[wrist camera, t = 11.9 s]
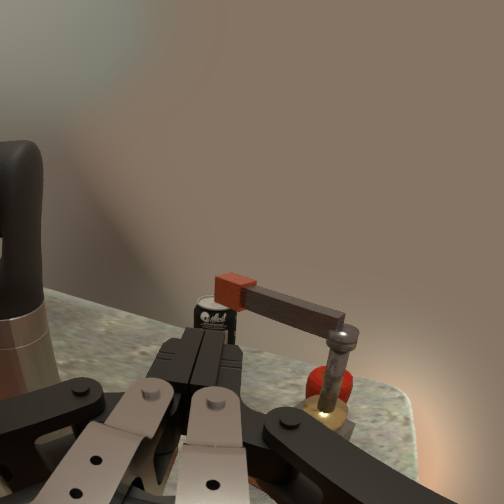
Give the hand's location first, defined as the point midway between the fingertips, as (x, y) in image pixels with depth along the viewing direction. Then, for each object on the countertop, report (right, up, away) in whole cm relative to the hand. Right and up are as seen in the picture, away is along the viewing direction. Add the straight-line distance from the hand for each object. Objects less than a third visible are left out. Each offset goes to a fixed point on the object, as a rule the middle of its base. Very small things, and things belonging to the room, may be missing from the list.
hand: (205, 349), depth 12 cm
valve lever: (+5, -4, +22) cm, 22 cm away
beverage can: (-5, -16, +38) cm, 41 cm away
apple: (+12, -19, +27) cm, 35 cm away
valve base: (+9, -20, +20) cm, 30 cm away
